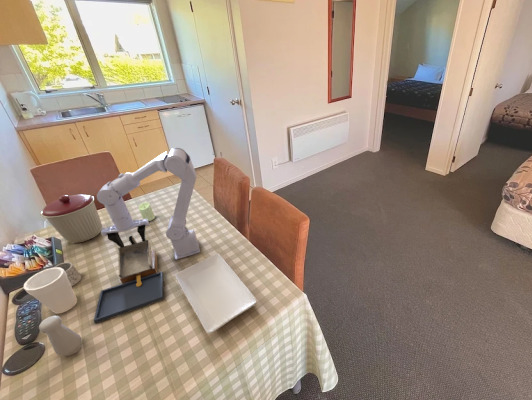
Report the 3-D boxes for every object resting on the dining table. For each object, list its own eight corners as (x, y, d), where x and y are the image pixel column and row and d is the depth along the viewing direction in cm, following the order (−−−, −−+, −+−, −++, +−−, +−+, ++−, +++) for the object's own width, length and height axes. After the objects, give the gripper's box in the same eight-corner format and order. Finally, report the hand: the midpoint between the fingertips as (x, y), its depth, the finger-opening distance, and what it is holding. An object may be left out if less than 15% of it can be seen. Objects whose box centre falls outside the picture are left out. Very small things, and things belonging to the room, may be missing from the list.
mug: (79, 272, 102) (71, 259, 99) (82, 281, 98) (73, 268, 95) (45, 286, 96) (35, 273, 93) (46, 297, 92) (35, 284, 89)
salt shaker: (69, 340, 79) (45, 312, 72) (89, 338, 79) (67, 310, 72) (54, 360, 74) (26, 332, 67) (75, 358, 74) (50, 330, 67)
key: (135, 276, 97) (135, 276, 97) (141, 275, 98) (141, 274, 98) (136, 287, 95) (136, 287, 94) (142, 285, 96) (141, 285, 95)
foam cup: (62, 320, 85) (39, 292, 78) (39, 315, 86) (14, 287, 80) (89, 296, 92) (71, 269, 86) (68, 292, 94) (48, 265, 87)
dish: (149, 239, 107) (145, 232, 103) (152, 268, 99) (148, 262, 95) (120, 247, 103) (114, 240, 99) (121, 278, 95) (115, 272, 91)
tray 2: (209, 341, 78) (206, 334, 76) (176, 280, 98) (173, 273, 96) (260, 308, 87) (258, 301, 85) (220, 258, 108) (218, 252, 106)
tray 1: (163, 273, 101) (162, 271, 100) (163, 299, 91) (162, 296, 90) (102, 293, 93) (100, 290, 93) (95, 323, 83) (93, 320, 83)
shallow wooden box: (157, 255, 110) (155, 249, 108) (157, 274, 101) (154, 268, 99) (126, 264, 106) (123, 258, 104) (123, 285, 96) (119, 279, 95)
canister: (70, 253, 112) (42, 212, 101) (54, 239, 120) (26, 199, 109) (117, 231, 125) (97, 192, 114) (99, 219, 133) (78, 182, 122)
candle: (151, 221, 131) (145, 207, 126) (141, 221, 131) (135, 207, 127) (157, 215, 135) (151, 202, 131) (147, 215, 135) (141, 202, 131)
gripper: (143, 205, 102) (155, 233, 109) (97, 215, 96) (113, 244, 103) (142, 214, 97) (154, 243, 104) (94, 225, 91) (110, 255, 98)
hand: (134, 244), depth 103 cm, fingers closed on dish, 7 cm apart
